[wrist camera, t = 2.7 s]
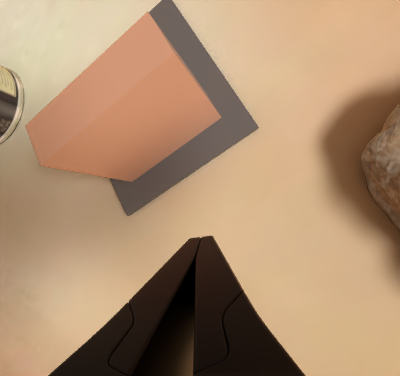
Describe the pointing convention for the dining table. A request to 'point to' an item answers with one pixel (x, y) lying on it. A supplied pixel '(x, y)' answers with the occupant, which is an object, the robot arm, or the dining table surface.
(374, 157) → the grey rough flat stone
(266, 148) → the dining table surface
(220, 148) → the mat
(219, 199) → the dining table surface
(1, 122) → the coffee can
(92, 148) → the tile
